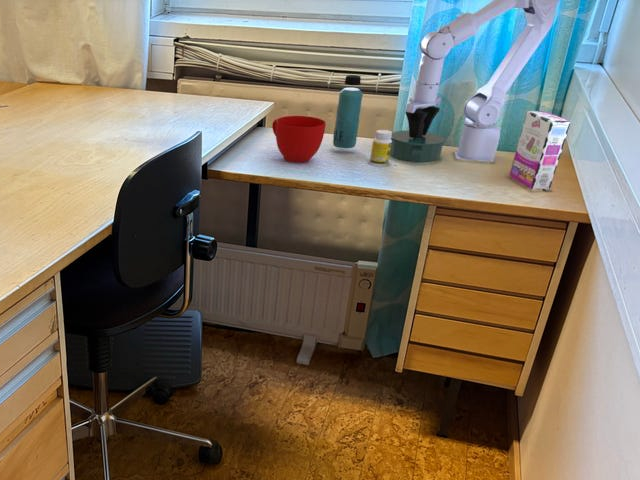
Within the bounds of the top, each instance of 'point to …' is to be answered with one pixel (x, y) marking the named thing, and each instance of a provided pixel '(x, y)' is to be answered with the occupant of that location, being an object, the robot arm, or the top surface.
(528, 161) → the candy bar box
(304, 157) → the ceramic cup
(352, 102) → the beverage bottle
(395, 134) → the lid
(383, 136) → the supplement bottle
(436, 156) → the pot
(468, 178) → the top surface
